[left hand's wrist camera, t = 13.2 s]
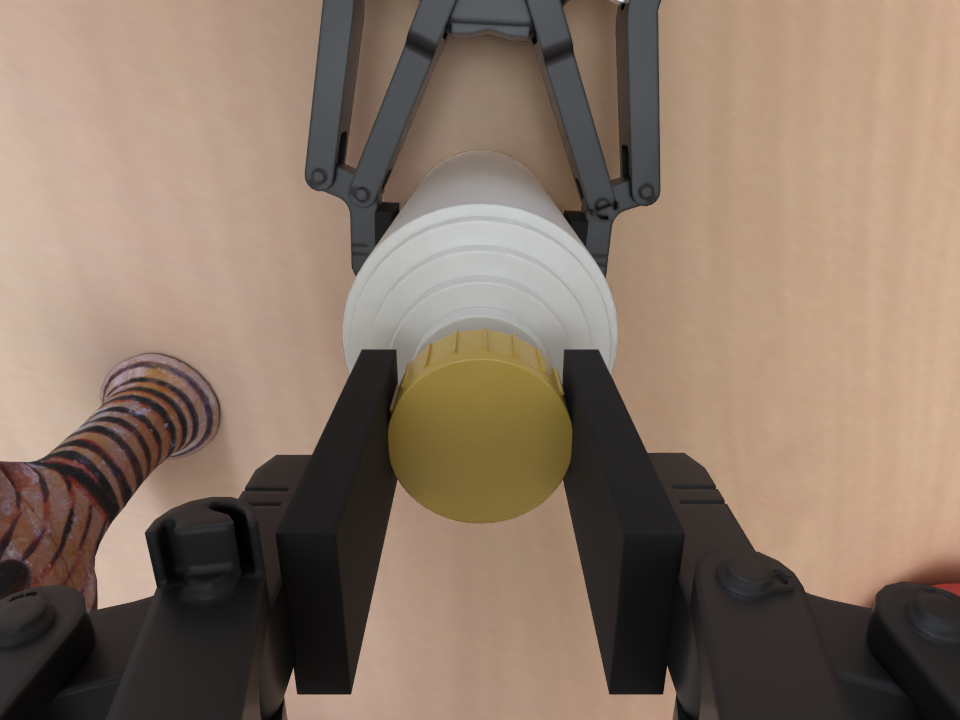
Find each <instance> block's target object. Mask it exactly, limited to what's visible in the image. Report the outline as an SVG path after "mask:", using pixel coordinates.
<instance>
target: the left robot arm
mask: <svg viewBox="0 0 960 720" xmlns="http://www.w3.org/2000/svg"><path fill="white" fill-rule="evenodd" d="M397 385H398V370H397V350H396V349H362V350H361V352H360V354H359V356H358V359H357V361H356V363H355V365H354V367H353V369H352V371H351V373H350V376H349V378H348V380H347V382H346V384H345V386H344V388H343V391H342V393H341V395H340V397H339V399H338V401H337V403H336V405H335V408H334V410H333V412H332V414H331V416H330V418H329V420H328V422H327V425H326V427H325V429H324V431H323V433H322V435H321V437H320V440H319V442H318V444H317V446H316V448H315V450H314V452H313V454H312V455H276V456H274V457H273V458H272V459H270V460H269V461H267V462H266V463H265V464H263V465H262V466H261V467H259V468H258V469H257V470H255V472H254V474H253V475H252V477H251V479H250V480H249V482H248V484H247V485H246V487H245V491H243V492H242V494H241V495H240V497H239V499H236V498H233V497H210V498H205V499H200V500H195V501H190V502H188V503H185V504H183V505H180V506H178V507H175V508H173V509H171V510H169V511H168V512H166V513H165V514H163V515H162V516H160V517H159V518H157V519H156V520H154V522H153V523H152V524H151V526H150V527H149V528H148V529H147V531H146V532H145V536H146V540H147V545H148V549H149V553H150V558H151V562H152V567H153V571H154V576H155V580H156V585H157V589H156V591H155V594H154V596H152V597H148V598H145V599H142V600H138V601H135V602H130V603H126V604H121V605H117V606H112V607H108V608H103V609H99V610H94V611H89V610H88V606H87V603H86V599H85V597H84V596H83V595H82V594H81V593H80V592H79V591H78V590H77V589H76V588H72V587H67V586H62V585H50V586H39V587H34V588H31V589H27V590H24V591H20V592H17V593H14V594H11V595H9V596H7V597H5V598H3V599H1V600H0V720H287V714H286V707H285V701H284V695H285V692H286V689H287V686H288V683H289V679H290V676H291V673H292V670H293V667H294V673H295V681H296V688H297V694H351V692H352V687H353V683H354V678H355V673H356V669H357V664H358V660H359V655H360V650H361V646H362V641H363V636H364V632H365V627H366V622H367V618H368V613H369V609H370V604H371V599H372V595H373V590H374V585H375V581H376V576H377V572H378V567H379V562H380V558H381V553H382V548H383V544H384V539H385V534H386V530H387V525H388V521H389V516H390V511H391V507H392V502H393V497H394V493H395V488H396V484H397V477H396V475H395V473H394V471H393V469H392V466H391V463H390V459H389V443H388V425H389V421H390V417H391V413H390V407H391V403H392V400H393V396H394V393H395V389H396V386H397ZM562 386H563V390H564V393H565V394H564V397H565V400H566V404H567V408H568V411H569V415H570V418H571V422H572V427H573V432H572V450H571V462H570V466H569V468H568V470H567V472H566V475H565V477H564V478H563V482H564V486H565V491H566V496H567V500H568V505H569V509H570V514H571V519H572V523H573V528H574V533H575V537H576V542H577V546H578V551H579V556H580V560H581V565H582V570H583V574H584V579H585V584H586V588H587V593H588V597H589V602H590V607H591V611H592V616H593V621H594V625H595V630H596V634H597V639H598V644H599V648H600V653H601V658H602V662H603V667H604V671H605V676H606V681H607V685H608V690H609V694H663V691H664V684H665V677H666V669H667V666H668V669H669V672H670V675H671V678H672V681H673V684H674V687H675V690H676V693H677V694H676V701H675V707H674V714H673V720H960V596H958V595H956V594H954V593H952V592H950V591H947V590H944V589H941V588H936V587H934V586H930V585H926V584H919V583H908V582H900V583H896V584H891V585H886V586H885V587H884V588H883V589H882V590H880V591H879V592H878V593H877V594H876V598H875V601H874V605H873V608H872V609H870V608H865V607H861V606H856V605H852V604H847V603H842V602H838V601H833V600H829V599H825V598H822V597H818V596H815V595H811V594H808V593H806V592H805V590H804V588H803V586H802V584H801V583H800V581H799V580H798V578H797V577H796V575H795V574H794V573H793V572H792V571H791V570H789V569H788V568H787V567H786V566H784V565H783V564H782V563H780V562H779V561H777V560H775V559H773V558H771V557H769V556H766V555H764V554H762V553H760V552H756V551H755V550H754V548H753V546H752V545H751V543H750V541H749V540H748V538H747V536H746V535H745V533H744V531H743V530H742V528H741V527H740V525H739V523H738V522H737V520H736V518H735V517H734V515H733V513H732V512H731V510H730V508H729V507H728V505H727V504H725V502H724V501H725V500H724V498H723V497H722V495H721V494H720V492H719V490H718V489H716V485H715V484H714V482H713V480H712V479H711V477H710V475H709V474H708V472H707V470H706V469H705V468H704V467H703V466H702V465H700V464H699V463H697V462H696V461H695V460H693V459H692V458H691V457H689V456H688V455H686V454H685V453H647V451H646V449H645V447H644V445H643V443H642V441H641V439H640V436H639V434H638V432H637V430H636V428H635V426H634V424H633V422H632V419H631V417H630V415H629V413H628V411H627V409H626V407H625V404H624V402H623V400H622V398H621V396H620V394H619V392H618V390H617V387H616V385H615V383H614V381H613V379H612V377H611V375H610V373H609V370H608V368H607V366H606V364H605V362H604V360H603V358H602V355H601V353H600V351H599V349H564V359H563V379H562Z"/></svg>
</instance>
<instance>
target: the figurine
mask: <svg viewBox="0 0 960 720" xmlns="http://www.w3.org/2000/svg"><path fill="white" fill-rule="evenodd" d="M100 397H101V403H102V406H101V407H100V408H99V409H98V410H97V411H96V412H95V413H94V414H93V415H92V416H91V417H90V418H89V419H88V420H87V421H86V422H85V423H84V424H83V425H82V426H80V427H79V428H78V429H77V430H76V431H75V432H73V433H72V434H71V435H70V436H69V437H67V438H66V439H65V440H64V441H63V442H62V443H61V444H59V445H58V446H57V447H56V448H55V449H54V450H53V451H52V452H50V453H49V454H48V455H47V456H45V457H44V458H42V459H39V460H37V461H33V462H2V461H0V600H1V599H3V598H5V597H7V596H9V595H11V594H14V593H17V592H20V591H24V590H27V589H31V588H34V587H39V586H50V585H62V586H67V587H72V588H76V589H77V590H78V591H79V592H80V593H81V594H82V595H83V596H84V597H85V599H86V603H87V606H88V610H89V611H94V610H97V604H98V598H97V578H96V574H95V570H94V568H95V556H96V553H97V550H98V547H99V544H100V542H101V540H102V538H103V536H104V534H105V533H106V531H107V529H108V528H109V526H110V525H111V523H112V521H113V520H114V519H115V518H116V516H117V515H118V514H119V513H120V512H121V510H122V509H123V508H124V507H125V506H126V504H127V502H128V501H129V500H130V498H131V497H132V496H133V495H134V493H135V492H136V491H137V489H138V488H139V487H140V485H141V484H142V483H143V481H144V480H145V479H146V478H147V477H148V476H149V475H150V474H151V472H152V471H153V470H154V469H155V468H156V467H157V466H158V465H160V464H161V463H162V462H163V461H164V460H166V459H175V458H181V457H185V456H188V455H191V454H193V453H195V452H196V451H198V450H200V449H202V448H203V447H204V446H206V445H207V444H208V443H209V442H210V441H211V440H212V439H213V437H214V436H215V434H216V432H217V429H218V424H219V409H218V408H219V407H218V403H217V399H216V397H215V396H214V394H213V392H212V390H211V388H210V386H209V385H208V384H207V383H206V382H204V380H203V379H202V378H201V377H200V376H199V374H198V373H197V372H195V371H194V370H192V369H191V368H189V367H188V366H187V365H185V364H184V363H181V362H179V361H178V360H176V359H172V358H170V357H166V356H162V355H159V354H143V355H139V356H136V357H134V358H131V359H129V360H126V361H123V362H120V363H119V364H117V365H116V366H115V367H114V368H113V369H112V370H111V371H110V372H109V374H108V375H107V376H106V377H105V380H104V382H103V384H102V387H101V395H100Z"/></svg>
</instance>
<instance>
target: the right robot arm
mask: <svg viewBox="0 0 960 720" xmlns="http://www.w3.org/2000/svg"><path fill="white" fill-rule="evenodd" d="M568 1H569V0H420V4H419V6H418V9H417V12H416V14H415V17H414V19H413V22H412V24H411V27H410V29H409V32H408V35H407V39H406V43H405V46H404V49H403V52H402V54H401V57H400V59H399V62H398V64H397V67H396V69H395V72H394V75H393V77H392V80H391V82H390V85H389V87H388V90H387V92H386V95H385V97H384V100H383V102H382V105H381V108H380V110H379V113H378V115H377V118H376V120H375V123H374V125H373V128H372V130H371V133H370V136H369V138H368V141H367V143H366V146H365V148H364V151H363V153H362V156H361V158H360V161H359V164H358V166H357V169H355V168H353V167H350V166H348V165H346V164H345V162H346V154H347V146H348V138H349V131H350V123H351V115H352V107H353V99H354V91H355V84H356V76H357V68H358V60H359V52H360V45H361V37H362V29H363V21H364V0H323V8H322V17H321V26H320V36H319V45H318V55H317V64H316V73H315V83H314V92H313V101H312V111H311V120H310V130H309V139H308V148H307V158H306V167H305V180H306V182H307V184H308V185H309V186H310V187H311V188H312V189H314V190H316V191H325V192H327V193H329V194H332V195H334V196H337V197H339V198H341V199H342V200H343V201H344V202H345V203H346V204H347V205H348V207H349V210H350V218H351V253H352V255H351V256H352V269H353V271H354V273H355V276H357V274H358V272H359V271H360V269H361V267H362V266H363V264H364V263H365V261H366V259H367V258H368V257H369V255H370V254H371V252H372V251H373V250H374V248H375V247H376V245H377V244H378V242H379V241H380V240H381V238H382V237H383V235H384V234H385V232H386V231H387V230H388V228H389V227H390V225H391V224H392V222H393V221H394V220H395V218H396V217H397V215H398V214H399V203H389V202H383V203H382V194H383V193H384V189H385V186H386V184H387V181H388V179H389V177H390V174H391V172H392V169H393V167H394V164H395V162H396V160H397V157H398V155H399V152H400V150H401V147H402V145H403V143H404V140H405V138H406V135H407V133H408V130H409V128H410V126H411V123H412V121H413V118H414V116H415V114H416V111H417V109H418V106H419V104H420V101H421V99H422V97H423V94H424V92H425V89H426V87H427V84H428V82H429V80H430V77H431V75H432V72H433V70H434V67H435V65H436V63H437V61H438V59H439V57H440V55H441V53H442V50H443V48H444V46H445V43H446V41H447V38H448V36H449V35H451V36H452V37H453V38H465V39H472V38H476V37H480V36H484V35H489V34H490V35H494V36H496V37H499V38H502V39H505V40H508V41H525V42H526V41H527V40H528V39H530V40H531V44H532V47H533V50H534V53H535V56H536V59H537V62H538V64H539V66H540V69H541V73H542V76H543V79H544V82H545V86H546V89H547V92H548V95H549V99H550V102H551V105H552V108H553V112H554V115H555V118H556V121H557V125H558V128H559V131H560V134H561V138H562V141H563V144H564V147H565V151H566V154H567V157H568V160H569V164H570V167H571V170H572V173H573V177H574V180H575V183H576V186H577V190H578V193H579V196H580V199H581V202H582V207H581V212H580V211H564V215H563V216H564V218H565V219H566V220H567V222H568V223H569V225H570V226H571V228H572V229H573V230H574V232H575V233H576V235H577V236H578V237H579V239H580V240H581V242H582V243H583V245H584V246H585V247H586V249H587V250H588V252H589V253H590V254H591V256H592V257H593V259H594V260H595V262H596V263H597V265H598V267H599V268H600V270H601V272H602V273H603V275H604V276H605V278H606V271H607V262H608V254H609V245H610V237H611V228H612V223H613V221H614V219H615V218H616V217H617V215H618V214H620V213H621V212H623V211H625V210H628V209H631V208H634V207H638V206H648V205H651V204H653V203H654V202H655V201H657V199H658V197H659V195H660V127H659V51H658V9H659V5H660V2H661V0H610V1H611V2H612V3H614V4H616V5H618V9H617V16H616V59H617V88H618V117H619V145H620V174H621V177H620V178H617V179H614V180H611V181H610V177H609V174H608V170H607V167H606V163H605V160H604V157H603V153H602V150H601V146H600V143H599V139H598V136H597V132H596V129H595V125H594V122H593V118H592V115H591V111H590V108H589V104H588V101H587V97H586V94H585V91H584V87H583V84H582V80H581V77H580V73H579V70H578V66H577V63H576V59H575V56H574V51H573V43H572V39H571V35H570V32H569V28H568V25H567V21H566V18H565V14H564V11H563V7H564V6H565V5H566V3H567V2H568Z"/></svg>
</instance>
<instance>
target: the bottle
mask: <svg viewBox="0 0 960 720" xmlns="http://www.w3.org/2000/svg"><path fill="white" fill-rule="evenodd" d="M483 328H487V330H492V331H498V332H503V333H506V334H509V335H512V334H516V337H517V338H519V339H521V340H523V341H525V342H527V343H528V344H530V345H531V346H533V347H534V348H535V349H537V348H539V349H540V350H541V353H542V355H543V356H544V357H545V358H546V359H547V360H548V361H549V363H550V364H551V366H552V367H553V369H556V368H557V370H558V372H559V376H560V379H561V383H562V379H563V359H564V349H599V351H600V353H601V355H602V358H603V360H604V362H605V364H606V366H607V368H608V370H609V373H610V375H611V373H612V370H613V366H614V363H615V359H616V352H617V346H618V321H617V313H616V308H615V304H614V300H613V297H612V293H611V290H610V288H609V286H608V283H607V281H606V279H605V276H604V275H603V273H602V272H601V270H600V268H599V267H598V265H597V263H596V262H595V260H594V259H593V257H592V256H591V254H590V253H589V252H588V250H587V249H586V247H585V246H584V245H583V243H582V242H581V240H580V239H579V237H578V236H577V235H576V233H575V232H574V230H573V229H572V228H571V226H570V225H569V223H568V222H567V220H566V219H565V218H564V216H563V215H562V213H561V212H560V210H559V209H558V208H557V206H556V205H555V203H554V202H553V201H552V199H551V198H550V196H549V195H548V193H547V192H546V191H545V189H544V188H543V186H542V185H541V184H540V182H539V181H538V179H537V178H536V177H535V176H534V174H533V173H532V172H531V171H530V170H529V169H528V168H527V167H525V166H524V165H523V164H521V163H520V162H519V161H517V160H515V159H513V158H511V157H509V156H507V155H504V154H501V153H498V152H493V151H486V150H474V151H467V152H462V153H459V154H456V155H453V156H451V157H449V158H447V159H445V160H443V161H442V162H440V163H439V164H438V165H436V166H435V167H434V168H433V169H432V170H431V171H429V172H428V174H427V175H426V176H425V177H424V178H423V180H422V181H421V183H420V184H419V185H418V187H417V188H416V190H415V191H414V193H413V194H412V195H411V197H410V198H409V200H408V201H407V202H406V204H405V205H404V207H403V208H402V210H401V211H400V212H399V214H398V215H397V217H396V218H395V220H394V221H393V222H392V224H391V225H390V227H389V228H388V230H387V231H386V232H385V234H384V235H383V237H382V238H381V240H380V241H379V242H378V244H377V245H376V247H375V248H374V250H373V251H372V252H371V254H370V255H369V257H368V258H367V259H366V261H365V263H364V264H363V266H362V267H361V269H360V271H359V272H358V274H357V276H356V278H355V280H354V282H353V285H352V287H351V289H350V292H349V295H348V299H347V302H346V306H345V310H344V318H343V325H342V336H343V349H344V356H345V361H346V364H347V368H348V371H349V375H350V373H351V371H352V369H353V367H354V365H355V363H356V361H357V359H358V356H359V354H360V352H361V350H362V349H396V350H397V370H398V386H399V385H400V382H401V379H402V377H403V375H404V373H405V370H406V366H407V363H408V362H409V361H410V362H412V361H413V360H414V359H415V358H416V356H417V355H418V354H419V353H420V352H422V351H423V350H424V349H425V348H426V347H427V344H428V343H431V344H432V343H434V342H436V341H437V340H439V339H441V338H444V337H446V336H448V335H452V334H453V332H454V331H457V332H463V331H469V330H483Z"/></svg>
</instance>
